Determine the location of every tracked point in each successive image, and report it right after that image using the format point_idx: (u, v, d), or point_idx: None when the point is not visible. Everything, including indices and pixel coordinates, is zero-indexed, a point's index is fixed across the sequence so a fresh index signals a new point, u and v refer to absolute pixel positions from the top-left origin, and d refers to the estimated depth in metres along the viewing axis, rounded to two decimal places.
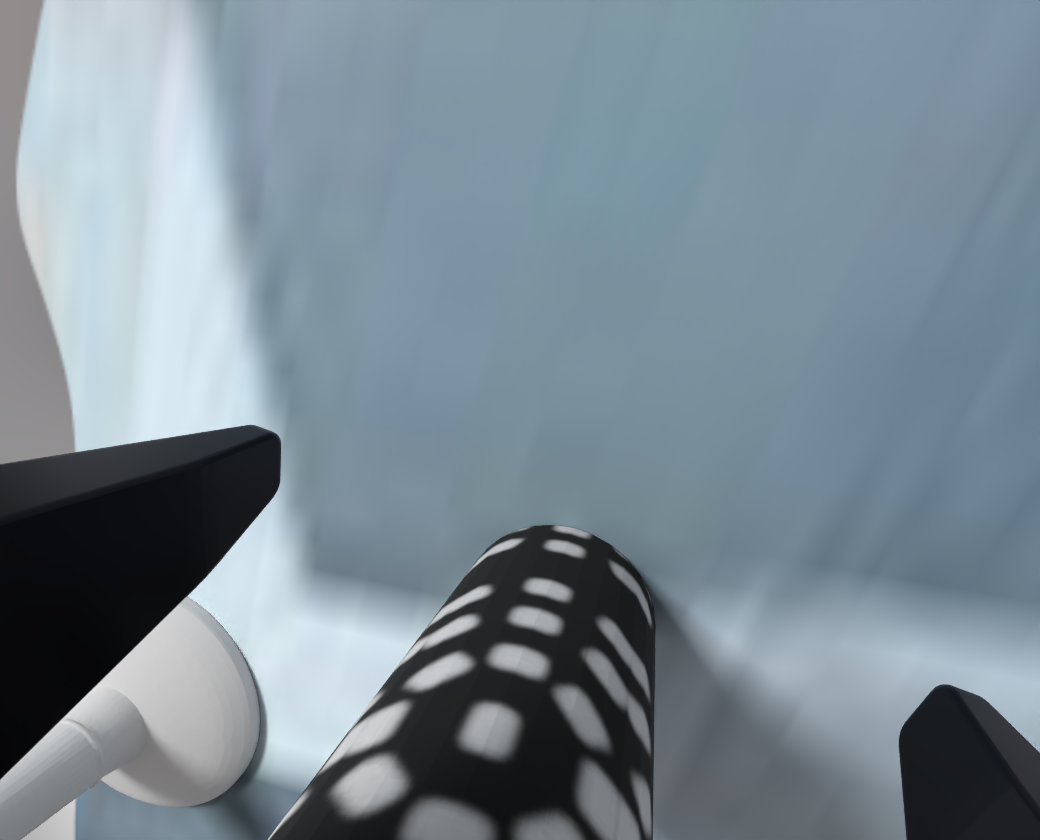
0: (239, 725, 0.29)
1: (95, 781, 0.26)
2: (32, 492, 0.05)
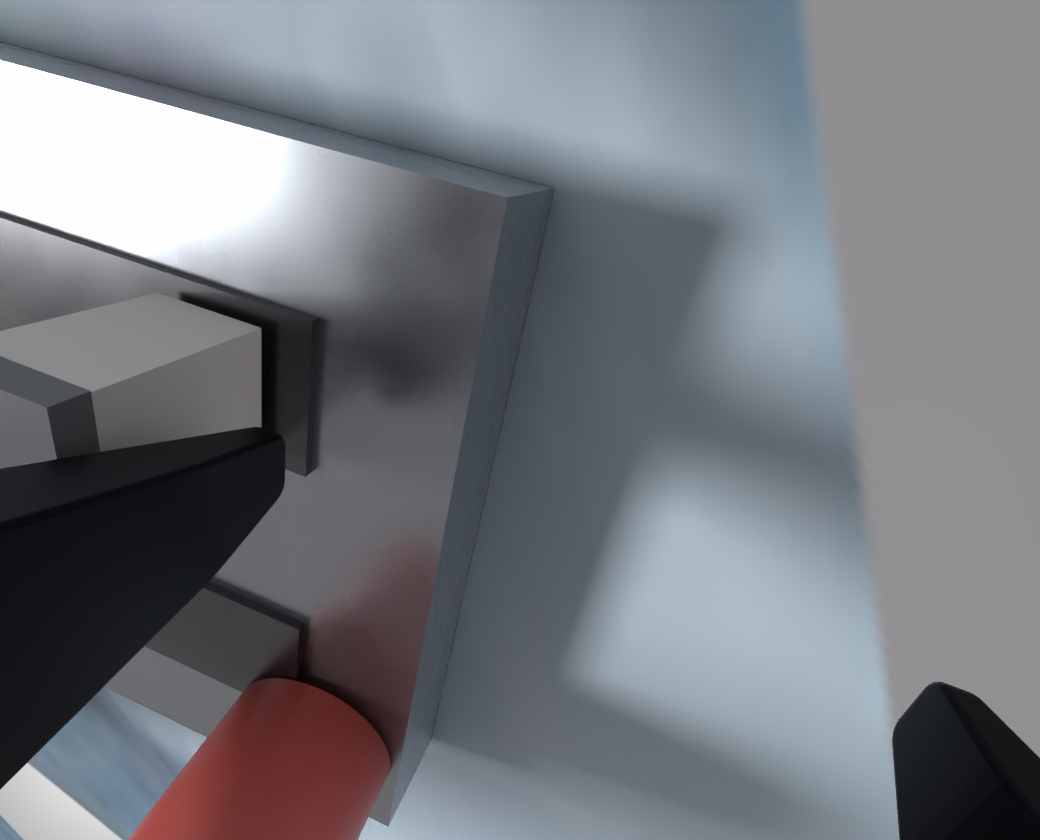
0: None
1: None
2: (38, 495, 0.05)
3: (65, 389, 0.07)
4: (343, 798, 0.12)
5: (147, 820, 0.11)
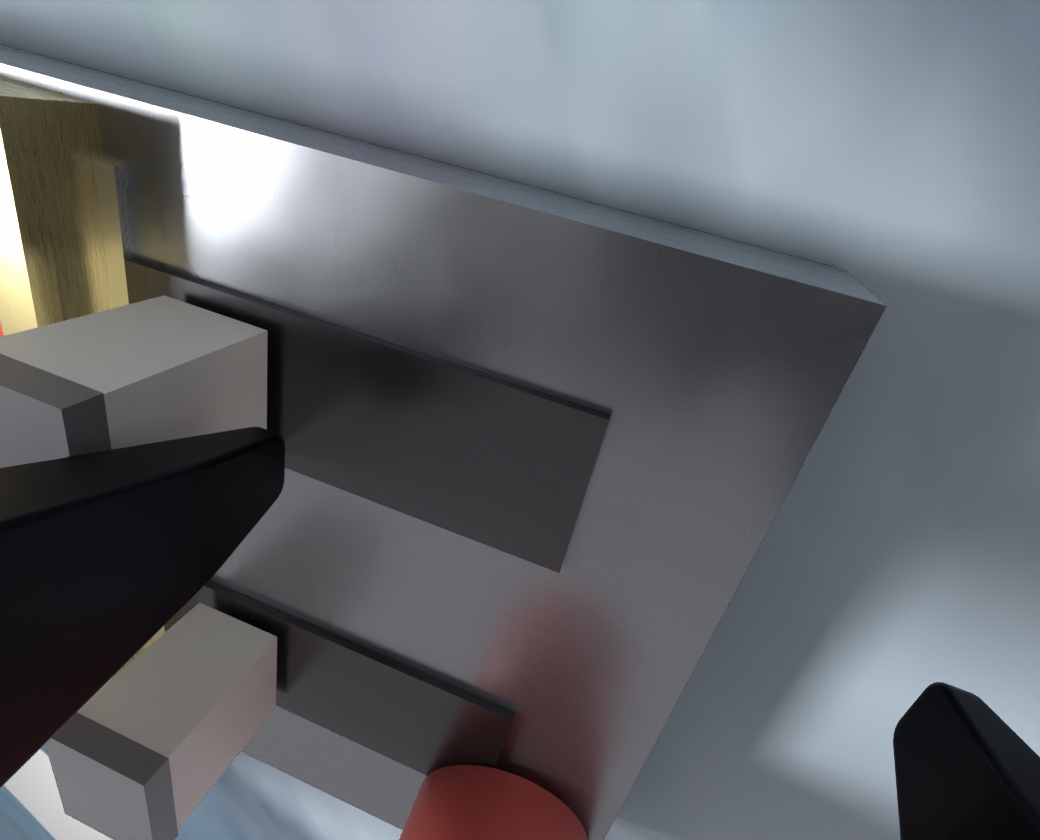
0: None
1: None
2: (38, 494, 0.05)
3: (78, 392, 0.07)
4: None
5: None
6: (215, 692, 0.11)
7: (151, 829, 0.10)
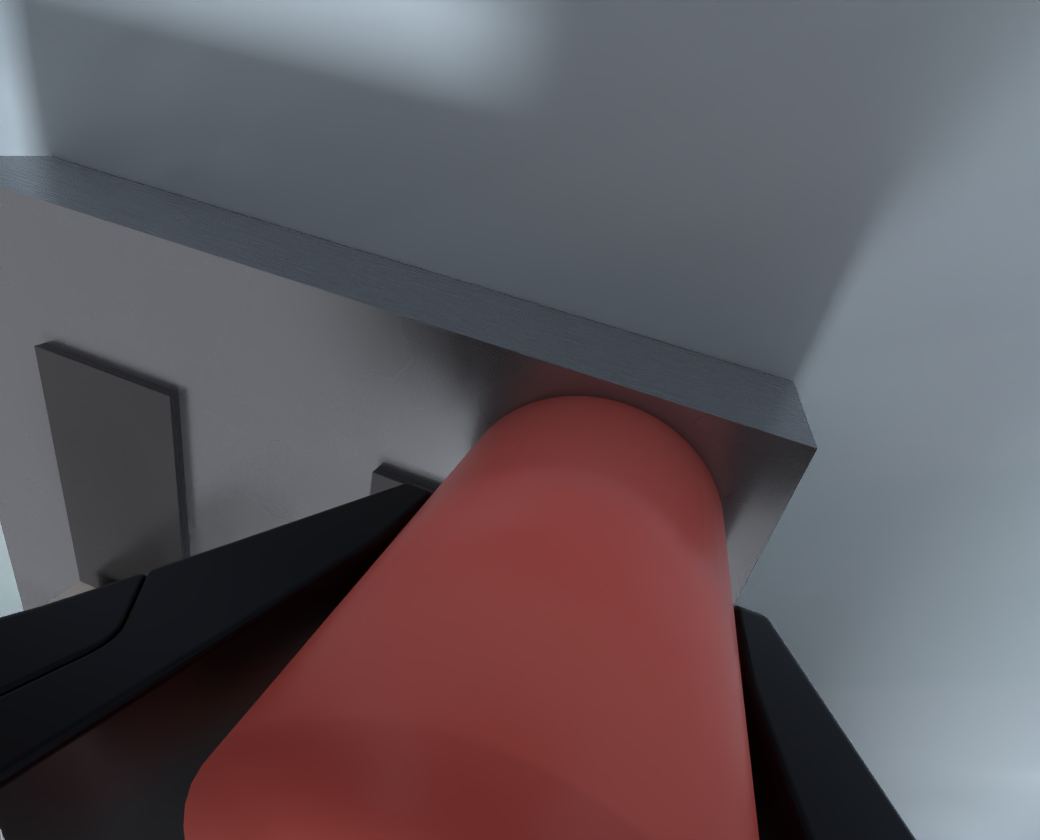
0: None
1: None
2: (252, 587, 0.05)
3: None
4: (501, 442, 0.07)
5: None
6: None
7: None
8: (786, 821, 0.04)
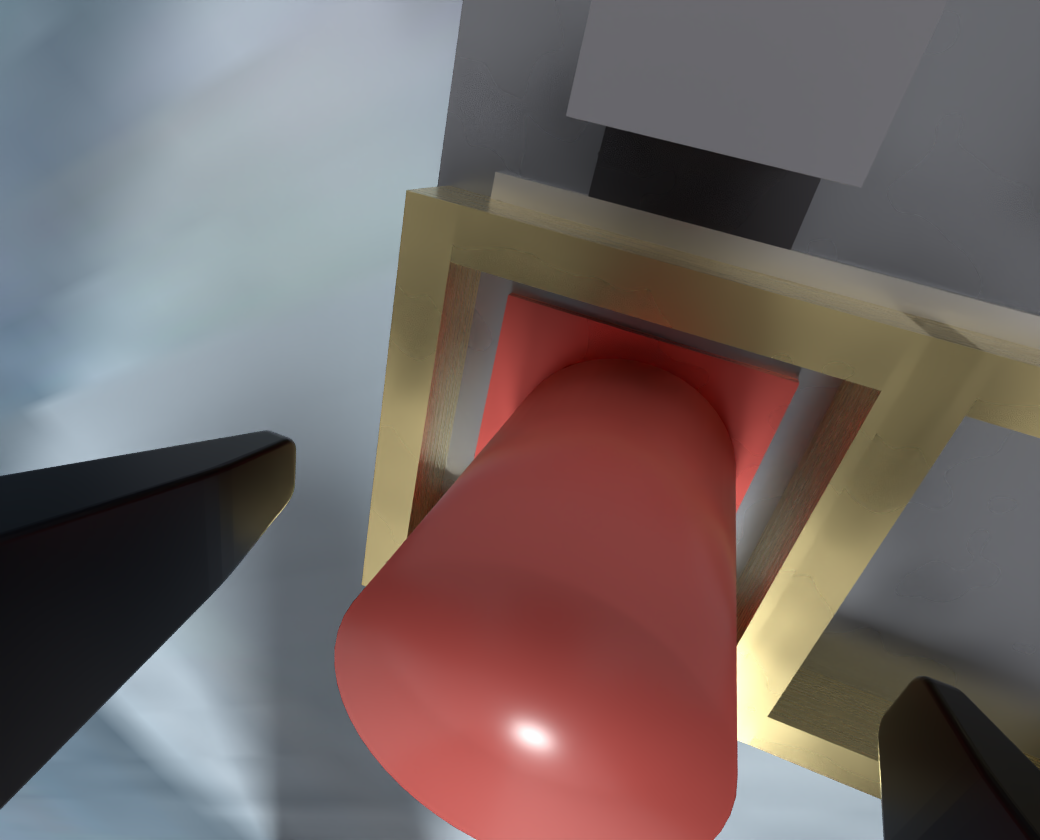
0: None
1: None
2: (53, 501, 0.05)
3: None
4: (550, 395, 0.08)
5: None
6: None
7: None
8: None
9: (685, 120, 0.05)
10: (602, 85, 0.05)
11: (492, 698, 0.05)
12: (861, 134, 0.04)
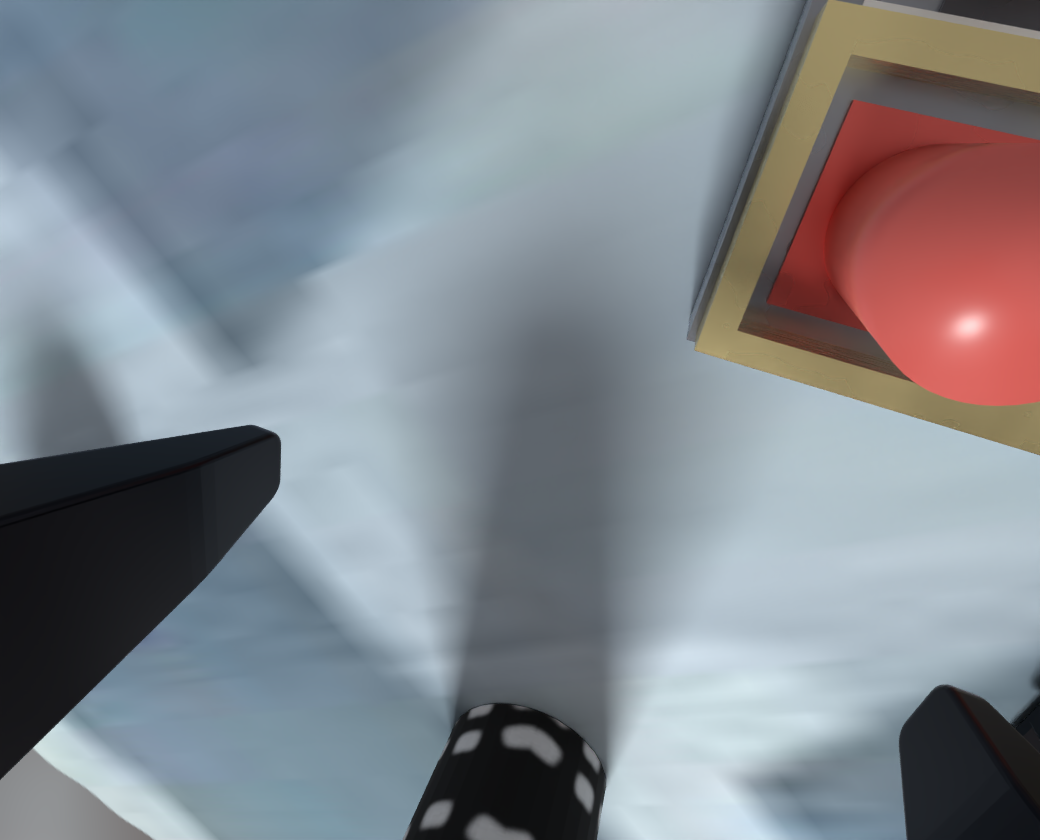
0: None
1: None
2: (32, 492, 0.05)
3: None
4: (924, 152, 0.12)
5: (856, 313, 0.12)
6: None
7: None
8: None
9: None
10: None
11: (1017, 258, 0.09)
12: None
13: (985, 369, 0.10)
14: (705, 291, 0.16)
